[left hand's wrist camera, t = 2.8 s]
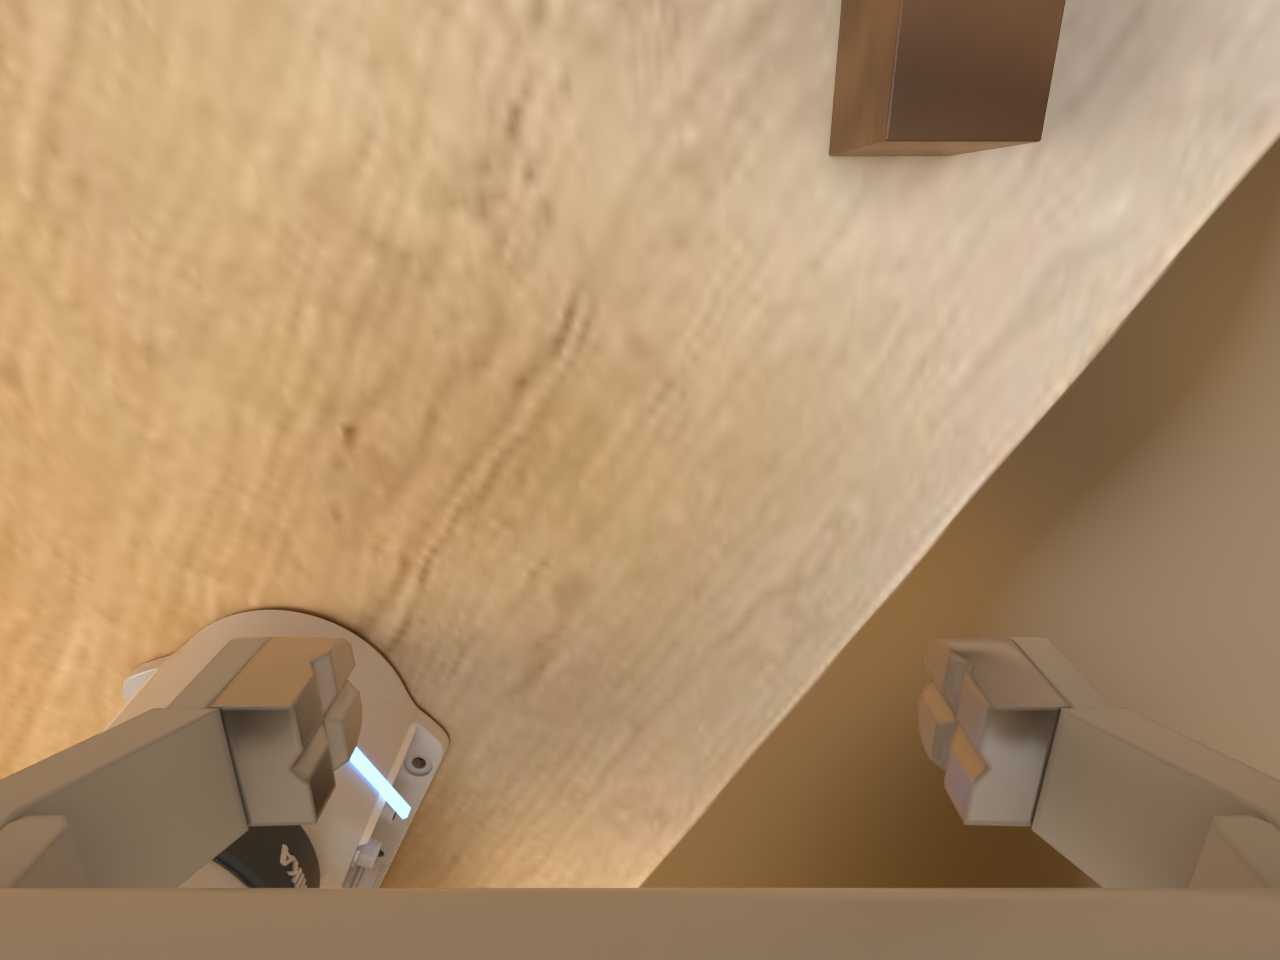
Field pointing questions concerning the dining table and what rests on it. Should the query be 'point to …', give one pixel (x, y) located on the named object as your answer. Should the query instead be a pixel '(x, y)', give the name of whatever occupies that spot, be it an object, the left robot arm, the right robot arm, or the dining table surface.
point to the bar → (942, 75)
